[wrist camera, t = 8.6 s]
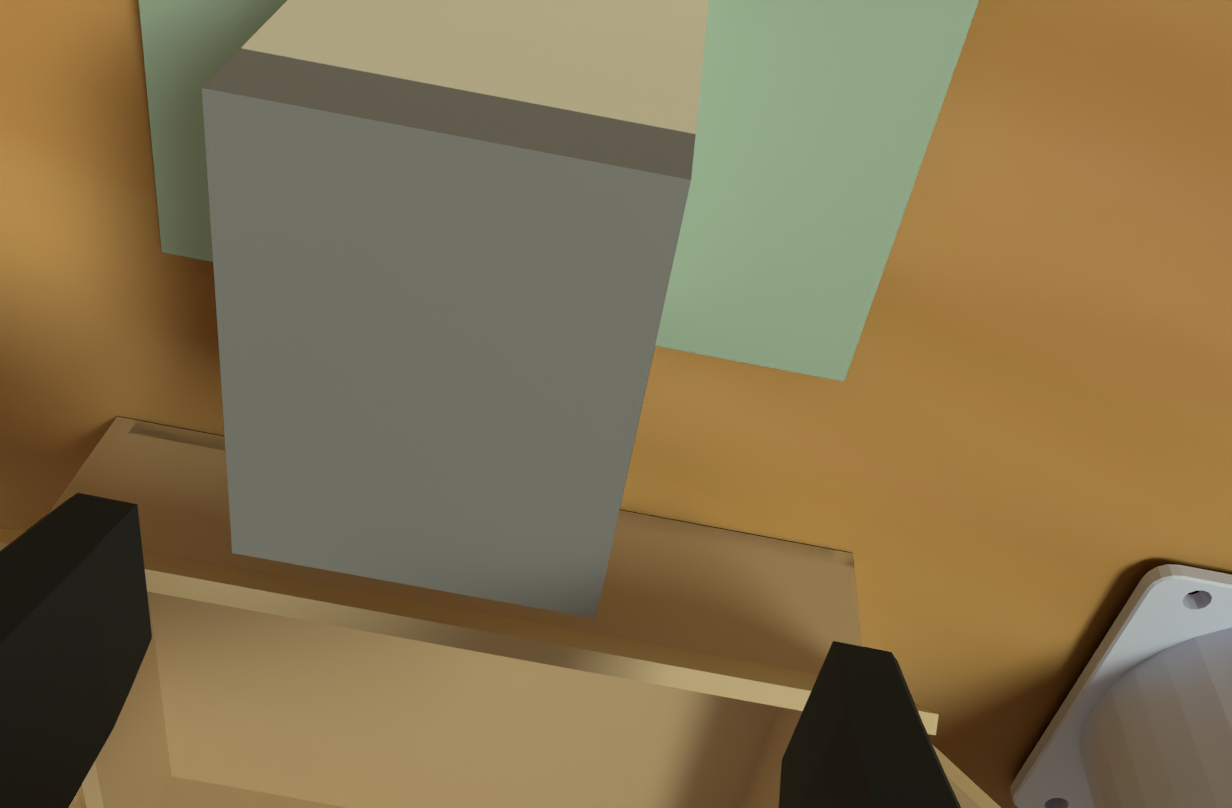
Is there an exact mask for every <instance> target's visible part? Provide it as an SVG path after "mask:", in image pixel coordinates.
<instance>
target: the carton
mask: <svg viewBox="0 0 1232 808" xmlns="http://www.w3.org/2000/svg"><path fill="white" fill-rule="evenodd" d="M77 493H82V494H88V495H93V496H98V497H103V498H108V499H113V500H118V501H123V502H128V503H133V504H137V505H138V514H139V523H140V532H141V541H142V550H143V559H144V568H145V577H146V587H147V596H148V605H149V614H150V623H151V632H152V639H151V642H150V644H149V647H148V649H147V651H146V654H145V656H144V659H143V661H142V664H141V666H140V668H139V671H138V673H137V676H136V678H135V680H134V683H133V685H132V688H131V690H130V692H129V695H128V697H127V699H126V701H125V704H124V706H123V708H122V710H121V713H120V715H119V717H118V719H117V722H116V724H115V726H114V728H113V730H112V732H111V734H110V736H109V737H108V739H107V741H106V743H105V744H104V746H103V748H102V750H101V752H100V753H99V755H98V757H97V759H96V760H95V762H94V764H93V765H92V767H91V769H90V771H89V772H88V774H87V776H86V778H85V779H84V781H83V783H82V789H83V794H84V799H85V804H86V808H779V794H780V778H781V763H782V758H783V756H784V753H785V751H786V749H787V746H788V744H789V742H790V739H791V737H792V735H793V732H794V730H795V728H796V726H797V723H798V721H799V719H800V716H801V714H802V712H803V709H804V707H805V705H806V702H807V700H808V698H809V695H810V693H811V691H812V688H813V686H814V684H815V682H816V679H817V677H818V675H819V672H820V670H821V668H822V665H823V663H824V661H825V658H826V656H827V654H828V651H829V649H830V647H831V644H832V642H833V641H836V642H842V643H847V644H852V645H857V646H862V645H861V634H860V624H859V613H858V602H857V592H856V581H855V570H854V560H853V553H848V552H843V551H837V550H832V549H826V548H821V547H816V546H810V545H805V544H800V543H794V542H789V541H783V540H778V539H773V538H767V537H762V536H757V535H751V534H746V533H740V532H735V531H730V530H724V529H719V528H713V527H708V526H703V525H697V524H692V523H687V522H681V521H676V520H670V519H665V518H660V517H654V516H649V515H644V514H638V513H633V512H627V511H622V510H619V515H618V519H617V524H616V529H615V533H614V538H613V542H612V547H611V552H610V556H609V561H608V565H607V570H606V575H605V579H604V584H603V588H602V593H601V598H600V602H599V607H598V611H597V616H596V619H595V618H589V617H584V616H578V615H573V614H567V613H562V612H556V611H550V610H545V609H539V608H534V607H528V606H523V605H517V604H512V603H506V602H501V601H495V600H490V599H484V598H478V597H473V596H467V595H462V594H456V593H451V592H445V591H440V590H434V589H429V588H423V587H418V586H412V585H406V584H401V583H395V582H390V581H384V580H379V579H373V578H368V577H362V576H357V575H351V574H346V573H340V572H334V571H329V570H323V569H318V568H312V567H307V566H301V565H296V564H290V563H285V562H279V561H274V560H268V559H262V558H257V557H251V556H246V555H240V554H235V553H232V541H231V526H230V511H229V496H228V481H227V465H226V450H225V437H224V436H219V435H213V434H208V433H202V432H197V431H192V430H186V429H181V428H176V427H170V426H165V425H159V424H154V423H149V422H143V421H138V420H133V419H127V418H122V417H116V419H115V420H114V422H113V423H112V424H111V426H110V427H109V429H108V430H107V431H106V433H105V434H104V436H103V437H102V438H101V440H100V441H99V443H98V444H97V445H96V447H95V448H94V450H93V451H92V452H91V454H90V455H89V457H88V458H87V459H86V461H85V462H84V464H83V465H82V466H81V468H80V469H79V471H78V472H77V473H76V475H75V476H74V478H73V479H72V480H71V482H70V483H69V485H68V486H67V487H66V489H65V490H64V492H63V493H62V494H61V496H60V497H59V499H58V500H57V501H56V503H55V504H54V506H53V507H52V508H51V510H50V511H49V513H50V512H51V511H53V510H54V509H55V508H57V507H58V506H59V505H61V504H62V503H63V502H65V501H66V500H67V499H69V498H70V497H72V496H74V495H75V494H77ZM49 513H48V514H49ZM25 531H27V530H23V529H0V551H1V550H2V549H3V548H5V547H6V546H7V545H8V544H10V543H11V542H12V541H14V540H15V539H16V538H18V537H19V536H20V535H21V534H23V533H24V532H25ZM915 705H916V704H915ZM916 708H917V710H918V712H919V715H920V717H921V720H922V722H923V724H924V727H925V729H926V731H927V734H930V735H936V731H937V724H938V717H939V714H937V713H934V712H932V711H930V710H927V709H925V708H923V707H921V706H918V705H916ZM932 745H933V744H932ZM933 747H934V749H935V752H936V754H937V756H938V758H939V761H940V763H941V765H942V767H943V770H944V772H945V774H946V776H947V778H948V781H949V783H950V785H951V787H952V789H953V791H954V793H955V796H956V798H957V800H958V802H959V804H960V806H961V808H1001V807H1000V806H999V805H998V804H997V803H995V802H994V801H993V800H992V799H991V798H990V797H989V796H988V795H987V794H986V793H985V792H984V791H982V790H981V789H980V788H979V787H978V786H977V785H976V784H975V783H974V782H973V781H972V780H971V779H969V778H968V777H967V776H966V775H965V774H964V773H963V772H962V771H961V770H960V769H959V768H958V767H956V766H955V765H954V764H953V763H952V762H951V761H950V760H949V759H948V758H947V757H946V756H945V755H943V754H942V753H941V752H940V751H939V750H938V749H937V748H936V747H935V746H934V745H933Z"/></svg>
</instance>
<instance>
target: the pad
mask: <svg viewBox="0 0 1232 808" xmlns="http://www.w3.org/2000/svg"><path fill="white" fill-rule="evenodd" d="M286 1H287V0H139V10H140V21H141V31H142V42H143V53H144V64H145V75H146V86H147V97H148V108H149V119H150V130H151V141H152V152H153V162H154V173H155V184H156V195H157V206H158V217H159V228H160V239H161V250H162V253H167V254H173V255H178V256H183V257H189V258H194V259H199V260H204V261H210V262H213V252H212V237H211V222H210V207H209V192H208V176H207V161H206V146H205V131H204V116H203V100H202V87H203V86H204V85H205V84H206V83H207V82H208V81H209V80H210V79H211V78H212V77H213V76H214V75H215V74H216V73H217V72H218V71H219V70H220V69H221V68H222V67H223V66H224V65H225V64H226V63H227V62H228V61H229V60H230V59H231V58H232V56H233V55H234V54H235V53H236V52H237V51H238V50H239V49H240V48H241V47H242V46H243V45H244V44H245V43H246V42H247V41H248V40H249V39H250V38H251V37H252V36H253V35H254V34H255V33H256V32H257V31H258V30H259V29H260V28H261V27H262V26H263V25H264V24H265V23H266V22H267V21H268V20H269V19H270V18H271V17H272V16H273V15H274V14H275V13H276V12H277V11H278V10H279V9H280V7H281V6H282V5H283V4H284V3H285V2H286ZM978 1H979V0H709V4H708V14H707V24H706V34H705V45H704V55H703V65H702V75H701V85H700V95H699V105H698V115H697V125H696V136H695V146H694V156H693V166H692V176H691V183H690V187H689V192H688V197H687V201H686V206H685V210H684V215H683V220H682V224H681V229H680V233H679V238H678V243H677V247H676V252H675V257H674V261H673V266H672V270H671V275H670V280H669V284H668V289H667V293H666V298H665V303H664V307H663V312H662V316H661V321H660V326H659V330H658V335H657V340H656V344H655V346H659V347H664V348H670V349H675V350H680V351H686V352H691V353H696V354H701V355H707V356H712V357H717V358H723V359H728V360H733V361H738V362H744V363H749V364H754V365H760V366H765V367H770V368H775V369H781V370H786V371H791V372H797V373H802V374H807V375H812V376H818V377H823V378H828V379H834V380H839V381H845V378H846V375H847V372H848V369H849V366H850V364H851V361H852V358H853V355H854V352H855V349H856V347H857V344H858V341H859V338H860V335H861V333H862V330H863V327H864V324H865V321H866V318H867V316H868V313H869V310H870V307H871V304H872V301H873V299H874V296H875V293H876V290H877V287H878V284H879V282H880V279H881V276H882V273H883V270H884V267H885V265H886V262H887V259H888V256H889V253H890V250H891V248H892V245H893V242H894V239H895V236H896V233H897V231H898V228H899V225H900V222H901V219H902V217H903V214H904V211H905V208H906V205H907V202H908V200H909V197H910V194H911V191H912V188H913V185H914V183H915V180H916V177H917V174H918V171H919V168H920V166H921V163H922V160H923V157H924V154H925V151H926V149H927V146H928V143H929V140H930V137H931V134H932V132H933V129H934V126H935V123H936V120H937V117H938V115H939V112H940V109H941V106H942V103H943V101H944V98H945V95H946V92H947V89H948V86H949V84H950V81H951V78H952V75H953V72H954V69H955V67H956V64H957V61H958V58H959V55H960V52H961V50H962V47H963V44H964V41H965V38H966V35H967V33H968V30H969V27H970V24H971V21H972V18H973V16H974V13H975V10H976V7H977V4H978Z"/></svg>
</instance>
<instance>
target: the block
mask: <svg viewBox="0 0 1232 808" xmlns="http://www.w3.org/2000/svg"><path fill="white" fill-rule="evenodd" d="M708 4H709V0H287V1H286V2H285V3H284V4H283V5H282V6H281V7H280V9H279V10H278V11H277V12H276V13H275V14H274V15H273V16H272V17H271V18H270V19H269V20H268V21H267V22H266V23H265V24H264V25H263V26H262V27H261V28H260V29H259V30H258V31H257V32H256V33H255V34H254V35H253V36H252V37H251V38H250V39H249V40H248V41H247V42H246V43H245V44H244V45H243V46H242V47H241V48H240V49H239V50H238V51H237V52H236V53H235V54H234V55H233V56H232V58H231V59H230V60H229V61H228V62H227V63H226V64H225V65H224V66H223V67H222V68H221V69H220V70H219V71H218V72H217V73H216V74H215V75H214V76H213V77H212V78H211V79H210V80H209V81H208V82H207V83H206V84H205V85H204V86H203V87H202V100H203V116H204V131H205V146H206V161H207V176H208V192H209V207H210V222H211V237H212V252H213V268H214V283H215V298H216V313H217V328H218V344H219V359H220V374H221V389H222V405H223V420H224V435H225V450H226V465H227V481H228V496H229V511H230V526H231V541H232V553H235V554H240V555H246V556H251V557H257V558H262V559H268V560H274V561H279V562H285V563H290V564H296V565H301V566H307V567H312V568H318V569H323V570H329V571H334V572H340V573H346V574H351V575H357V576H362V577H368V578H373V579H379V580H384V581H390V582H395V583H401V584H406V585H412V586H418V587H423V588H429V589H434V590H440V591H445V592H451V593H456V594H462V595H467V596H473V597H478V598H484V599H490V600H495V601H501V602H506V603H512V604H517V605H523V606H528V607H534V608H539V609H545V610H550V611H556V612H562V613H567V614H573V615H578V616H584V617H589V618H595V619H596V616H597V611H598V607H599V602H600V598H601V593H602V588H603V584H604V579H605V575H606V570H607V565H608V561H609V556H610V552H611V547H612V542H613V538H614V533H615V529H616V524H617V519H618V515H619V510H620V505H621V501H622V496H623V492H624V487H625V482H626V478H627V473H628V469H629V464H630V459H631V455H632V450H633V446H634V441H635V436H636V432H637V427H638V422H639V418H640V413H641V409H642V404H643V399H644V395H645V390H646V386H647V381H648V376H649V372H650V367H651V363H652V358H653V353H654V349H655V344H656V340H657V335H658V330H659V326H660V321H661V316H662V312H663V307H664V303H665V298H666V293H667V289H668V284H669V280H670V275H671V270H672V266H673V261H674V257H675V252H676V247H677V243H678V238H679V233H680V229H681V224H682V220H683V215H684V210H685V206H686V201H687V197H688V192H689V187H690V183H691V176H692V166H693V156H694V146H695V136H696V125H697V115H698V105H699V95H700V85H701V75H702V65H703V55H704V45H705V34H706V24H707V14H708Z"/></svg>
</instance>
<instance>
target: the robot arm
mask: <svg viewBox="0 0 1232 808" xmlns="http://www.w3.org/2000/svg"><path fill="white" fill-rule="evenodd" d="M1193 591H1200V592H1198V593H1195V594H1188V593H1191V592H1193ZM151 639H152V632H151V623H150V614H149V605H148V596H147V587H146V577H145V568H144V559H143V550H142V541H141V532H140V523H139V514H138V505H137V504H133V503H128V502H123V501H118V500H113V499H108V498H103V497H98V496H93V495H88V494H82V493H77V494H75V495H74V496H72V497H70V498H69V499H67V500H66V501H65V502H63V503H62V504H61V505H59V506H58V507H57V508H55V509H54V510H53V511H51V512H50V513H49V514H47V515H46V516H45V517H44V518H42V519H41V520H40V521H38V522H37V523H36V524H34V525H33V526H32V527H31V528H29V529H28V530H27V531H25V532H24V533H23V534H21V535H20V536H19V537H18V538H16V539H15V540H14V541H12V542H11V543H10V544H8V545H7V546H6V547H5V548H3V549H2V550H1V551H0V808H68V807H69V805H70V804H71V802H72V800H73V799H74V797H75V795H76V793H77V792H78V790H79V788H80V786H81V785H82V783H83V781H84V779H85V778H86V776H87V774H88V772H89V771H90V769H91V767H92V765H93V764H94V762H95V760H96V759H97V757H98V755H99V753H100V752H101V750H102V748H103V746H104V744H105V743H106V741H107V739H108V737H109V736H110V734H111V732H112V730H113V728H114V726H115V724H116V722H117V719H118V717H119V715H120V713H121V710H122V708H123V706H124V704H125V701H126V699H127V697H128V695H129V692H130V690H131V688H132V685H133V683H134V680H135V678H136V676H137V673H138V671H139V668H140V666H141V664H142V661H143V659H144V656H145V654H146V651H147V649H148V647H149V644H150V642H151ZM1010 790H1011V795H1012V800H1013V803H1014V805H1015V806H1016V807H1018V808H1232V575H1231V574H1226V573H1220V572H1215V571H1210V570H1204V569H1199V568H1194V567H1188V566H1183V565H1174V564H1166V565H1162V566H1158V567H1156V568H1154V569H1152V570H1150V571H1148V572H1147V573H1146V574H1145V575H1144V577H1143V578H1142V579H1141V581H1140V582H1139V584H1138V585H1137V587H1136V588H1135V590H1134V592H1133V593H1132V595H1131V596H1130V598H1129V600H1128V601H1127V603H1126V604H1125V606H1124V607H1123V609H1122V611H1121V612H1120V614H1119V615H1118V617H1117V618H1116V620H1115V622H1114V623H1113V625H1112V626H1111V628H1110V630H1109V631H1108V633H1107V634H1106V636H1105V637H1104V639H1103V641H1102V642H1101V644H1100V645H1099V647H1098V648H1097V650H1096V652H1095V653H1094V655H1093V656H1092V658H1091V659H1090V661H1089V663H1088V664H1087V666H1086V667H1085V669H1084V671H1083V672H1082V674H1081V675H1080V677H1079V678H1078V680H1077V682H1076V683H1075V685H1074V686H1073V688H1072V689H1071V691H1070V693H1069V694H1068V696H1067V697H1066V699H1065V701H1064V702H1063V704H1062V705H1061V707H1060V708H1059V710H1058V712H1057V713H1056V715H1055V716H1054V718H1053V719H1052V721H1051V723H1050V724H1049V726H1048V727H1047V729H1046V730H1045V732H1044V734H1043V735H1042V737H1041V738H1040V740H1039V742H1038V743H1037V745H1036V746H1035V748H1034V749H1033V751H1032V753H1031V754H1030V756H1029V757H1028V759H1027V760H1026V762H1025V764H1024V765H1023V767H1022V768H1021V770H1020V772H1019V773H1018V775H1017V776H1016V778H1015V779H1014V781H1013V783H1012V784H1011V788H1010ZM779 808H961V806H960V804H959V802H958V800H957V798H956V796H955V793H954V791H953V789H952V787H951V785H950V783H949V781H948V778H947V776H946V774H945V772H944V770H943V767H942V765H941V763H940V761H939V758H938V756H937V754H936V752H935V749H934V747H933V745H932V743H931V740H930V738H929V736H928V734H927V731H926V729H925V727H924V724H923V722H922V720H921V717H920V715H919V712H918V710H917V708H916V705H915V703H914V701H913V698H912V696H911V693H910V691H909V688H908V686H907V683H906V681H905V679H904V676H903V674H902V671H901V669H900V666H899V664H898V661H897V660H896V659H895V657H894V656H893V654H892V653H891V652H887V651H882V650H877V649H872V648H867V647H862V646H857V645H852V644H847V643H842V642H836V641H833V642H832V644H831V647H830V649H829V651H828V654H827V656H826V658H825V661H824V663H823V665H822V668H821V670H820V672H819V675H818V677H817V679H816V682H815V684H814V686H813V688H812V691H811V693H810V695H809V698H808V700H807V702H806V705H805V707H804V709H803V712H802V714H801V716H800V719H799V721H798V723H797V726H796V728H795V730H794V732H793V735H792V737H791V739H790V742H789V744H788V746H787V749H786V751H785V753H784V756H783V758H782V763H781V778H780V794H779Z"/></svg>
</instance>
